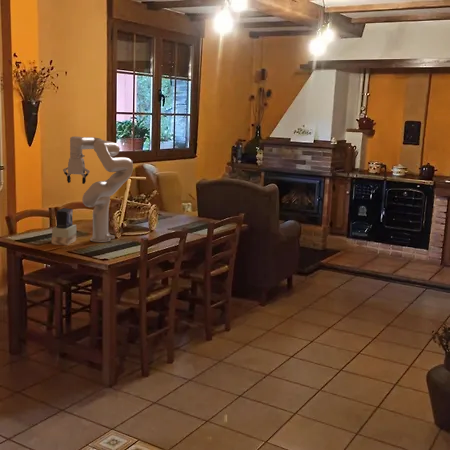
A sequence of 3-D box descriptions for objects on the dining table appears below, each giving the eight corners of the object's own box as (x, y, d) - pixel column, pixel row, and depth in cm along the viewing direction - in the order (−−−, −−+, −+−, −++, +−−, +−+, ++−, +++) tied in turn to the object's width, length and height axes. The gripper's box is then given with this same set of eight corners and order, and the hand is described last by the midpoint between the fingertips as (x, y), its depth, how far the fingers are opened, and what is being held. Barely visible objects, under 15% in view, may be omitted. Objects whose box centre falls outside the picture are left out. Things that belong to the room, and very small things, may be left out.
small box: (66, 228, 355) (66, 211, 353) (56, 227, 356) (56, 210, 354) (73, 225, 366) (73, 208, 364) (62, 224, 366) (62, 207, 364)
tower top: (76, 232, 368) (76, 224, 367) (68, 237, 354) (68, 229, 353) (60, 231, 369) (60, 223, 368) (52, 236, 355) (52, 228, 354)
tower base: (76, 240, 369) (76, 232, 368) (67, 245, 356) (67, 237, 355) (60, 239, 370) (60, 231, 369) (51, 244, 357) (51, 236, 356)
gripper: (91, 156, 378) (91, 183, 381) (65, 155, 380) (65, 181, 383) (87, 157, 371) (87, 184, 374) (60, 156, 372) (61, 183, 376)
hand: (76, 183), depth 379 cm, fingers open, 9 cm apart
